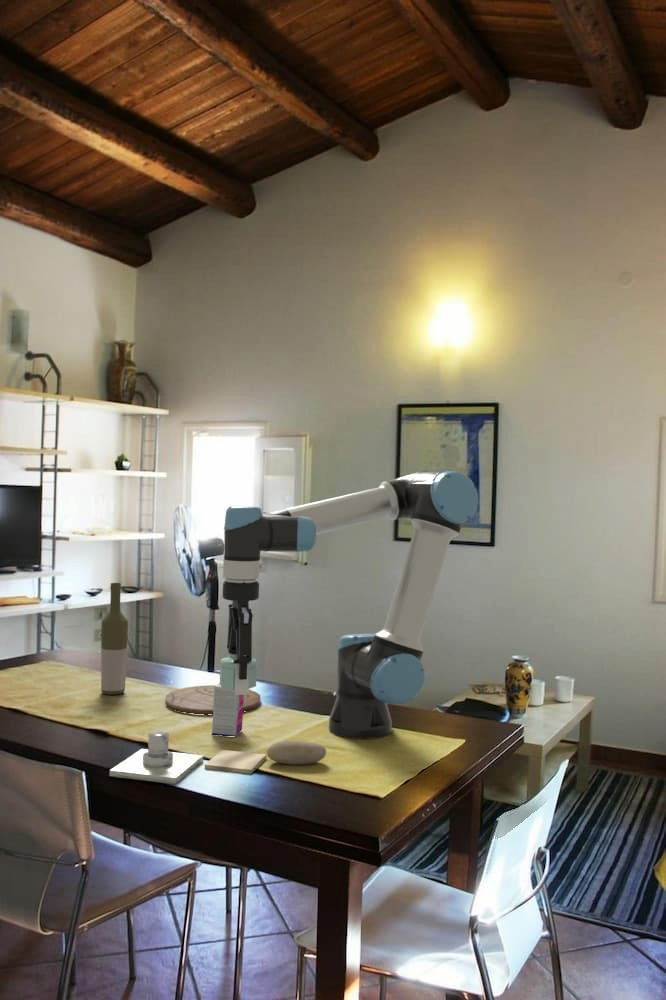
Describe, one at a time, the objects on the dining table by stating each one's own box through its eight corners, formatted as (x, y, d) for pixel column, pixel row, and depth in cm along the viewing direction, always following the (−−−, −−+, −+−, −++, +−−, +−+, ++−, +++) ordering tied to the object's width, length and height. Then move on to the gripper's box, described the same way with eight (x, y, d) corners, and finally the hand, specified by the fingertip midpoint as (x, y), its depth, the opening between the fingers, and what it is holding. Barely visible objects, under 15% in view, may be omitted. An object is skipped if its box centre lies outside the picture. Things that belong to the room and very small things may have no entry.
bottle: (131, 693, 230) (134, 583, 229) (109, 697, 224) (112, 585, 224) (116, 688, 234) (119, 581, 234) (94, 692, 229) (97, 583, 228)
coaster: (266, 758, 179) (266, 754, 179) (251, 773, 170) (251, 769, 170) (222, 753, 182) (222, 749, 182) (204, 768, 172) (204, 764, 172)
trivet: (222, 723, 206) (222, 715, 206) (144, 706, 218) (145, 699, 218) (278, 701, 227) (278, 694, 227) (205, 687, 240) (205, 681, 240)
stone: (264, 746, 179) (317, 728, 182) (272, 776, 178) (326, 758, 180) (265, 746, 174) (320, 727, 176) (274, 776, 172) (329, 757, 175)
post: (203, 761, 176) (203, 728, 176) (175, 784, 163) (176, 748, 163) (141, 754, 180) (142, 721, 179) (109, 776, 166) (110, 741, 166)
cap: (258, 688, 173) (259, 658, 173) (223, 690, 171) (224, 659, 171) (251, 680, 180) (252, 651, 180) (217, 681, 178) (218, 652, 178)
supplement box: (235, 738, 193) (237, 688, 193) (211, 735, 194) (212, 686, 194) (243, 730, 199) (244, 682, 198) (219, 728, 200) (220, 680, 199)
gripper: (269, 586, 166) (265, 701, 167) (249, 574, 186) (246, 677, 186) (231, 586, 164) (228, 703, 165) (215, 574, 183) (212, 678, 184)
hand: (237, 689), depth 175 cm, fingers closed on cap, 7 cm apart
